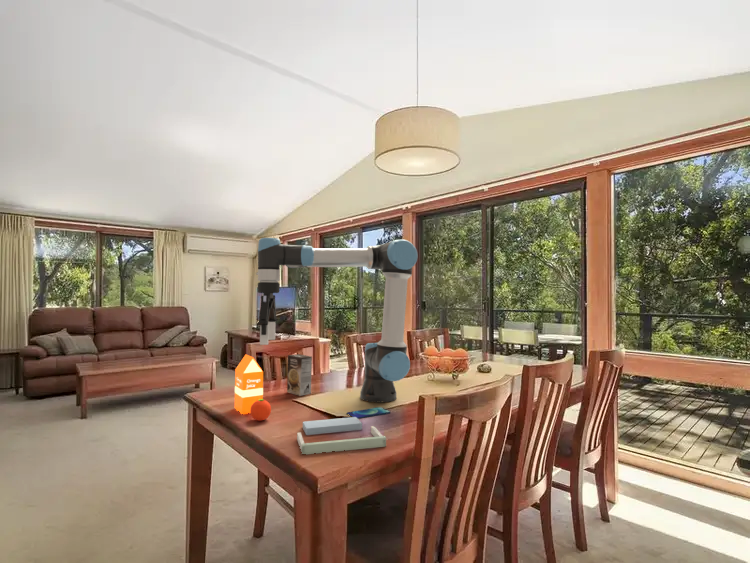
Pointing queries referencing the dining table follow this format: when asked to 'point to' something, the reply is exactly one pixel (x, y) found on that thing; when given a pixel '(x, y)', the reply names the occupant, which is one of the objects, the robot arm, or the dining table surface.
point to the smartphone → (369, 412)
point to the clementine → (260, 410)
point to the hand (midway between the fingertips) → (267, 342)
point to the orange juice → (248, 384)
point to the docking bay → (343, 443)
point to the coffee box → (299, 374)
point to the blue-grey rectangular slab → (331, 425)
